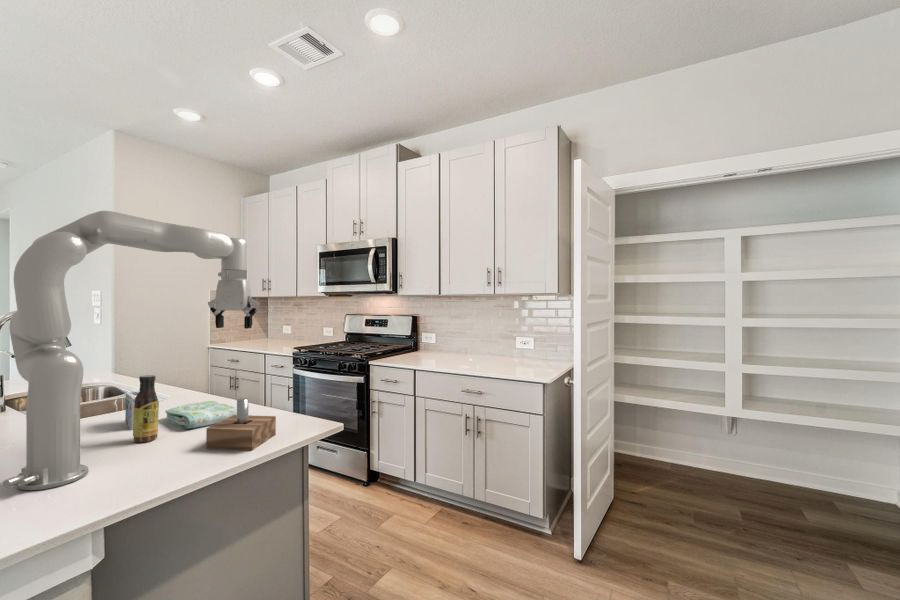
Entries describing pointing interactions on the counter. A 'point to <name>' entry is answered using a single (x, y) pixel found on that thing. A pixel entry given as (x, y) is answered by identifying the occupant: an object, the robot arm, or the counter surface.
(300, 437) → the counter surface
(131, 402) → the light bulb box
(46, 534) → the counter surface
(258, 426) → the socket block
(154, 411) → the sauce bottle
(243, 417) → the pin
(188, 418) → the towel
